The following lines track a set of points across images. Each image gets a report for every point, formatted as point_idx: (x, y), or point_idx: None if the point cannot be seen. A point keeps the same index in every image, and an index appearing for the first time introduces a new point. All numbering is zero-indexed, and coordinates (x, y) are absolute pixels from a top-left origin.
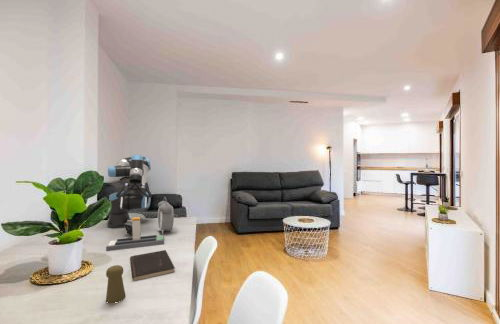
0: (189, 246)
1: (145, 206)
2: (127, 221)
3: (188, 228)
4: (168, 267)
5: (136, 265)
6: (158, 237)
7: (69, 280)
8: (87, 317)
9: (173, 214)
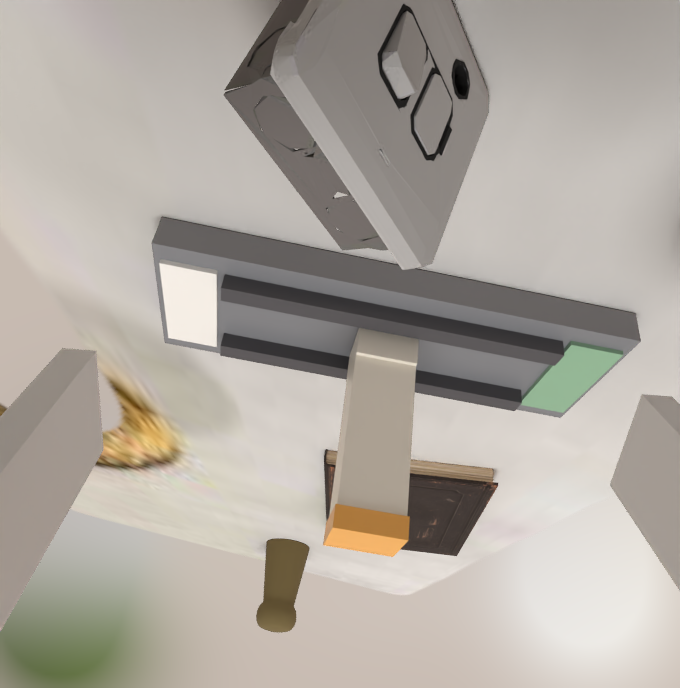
0: None
1: (624, 491)
2: (280, 57)
3: None
4: (440, 549)
5: None
6: (557, 376)
7: (126, 464)
8: (241, 553)
9: None
